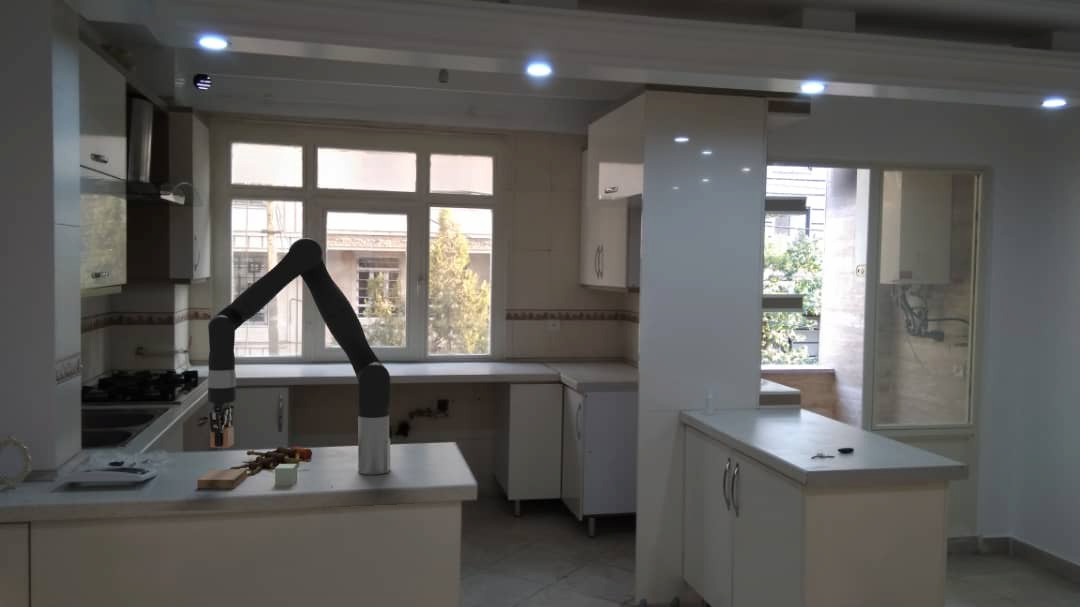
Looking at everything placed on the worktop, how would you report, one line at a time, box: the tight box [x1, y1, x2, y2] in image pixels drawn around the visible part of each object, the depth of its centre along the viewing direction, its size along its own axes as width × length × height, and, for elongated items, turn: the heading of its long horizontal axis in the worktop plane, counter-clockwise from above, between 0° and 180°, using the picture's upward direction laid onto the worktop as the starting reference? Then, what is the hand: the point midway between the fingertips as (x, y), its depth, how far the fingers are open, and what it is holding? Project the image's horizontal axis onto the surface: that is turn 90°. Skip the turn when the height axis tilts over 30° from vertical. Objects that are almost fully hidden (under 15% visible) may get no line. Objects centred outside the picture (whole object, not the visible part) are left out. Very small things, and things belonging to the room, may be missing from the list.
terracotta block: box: [209, 426, 235, 449], centre depth 241 cm, size 5×5×5 cm
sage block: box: [274, 463, 298, 486], centre depth 242 cm, size 5×5×5 cm
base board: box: [196, 468, 248, 489], centre depth 242 cm, size 10×12×2 cm
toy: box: [229, 445, 313, 477], centre depth 262 cm, size 26×6×30 cm
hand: (222, 443), depth 241 cm, fingers closed on terracotta block, 5 cm apart
